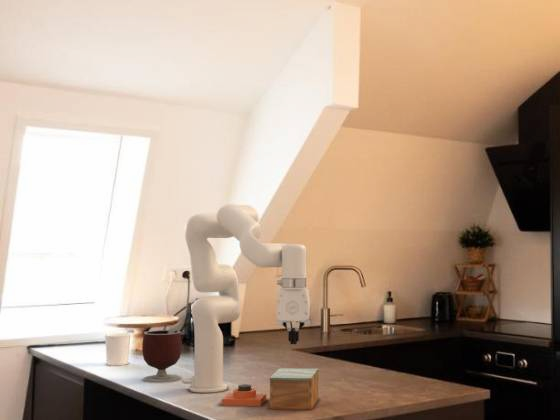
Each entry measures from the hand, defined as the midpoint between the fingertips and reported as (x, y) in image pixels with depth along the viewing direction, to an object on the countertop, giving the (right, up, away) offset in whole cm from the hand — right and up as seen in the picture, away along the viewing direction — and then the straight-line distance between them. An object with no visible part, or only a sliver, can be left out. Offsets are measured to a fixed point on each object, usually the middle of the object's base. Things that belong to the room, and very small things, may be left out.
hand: (293, 343), depth 235 cm
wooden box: (0, -19, +2) cm, 19 cm away
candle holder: (-82, -22, +78) cm, 115 cm away
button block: (-16, -19, +4) cm, 25 cm away
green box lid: (0, -10, +2) cm, 11 cm away
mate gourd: (-53, -21, +45) cm, 72 cm away
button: (-16, -16, +4) cm, 23 cm away
